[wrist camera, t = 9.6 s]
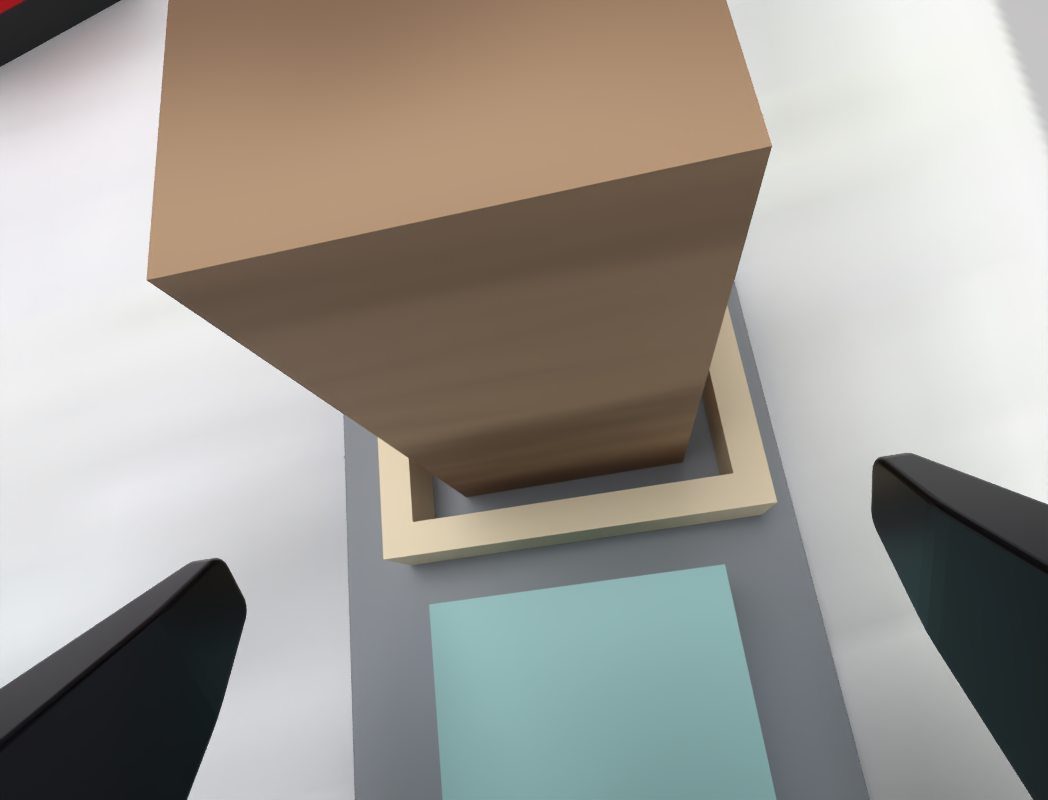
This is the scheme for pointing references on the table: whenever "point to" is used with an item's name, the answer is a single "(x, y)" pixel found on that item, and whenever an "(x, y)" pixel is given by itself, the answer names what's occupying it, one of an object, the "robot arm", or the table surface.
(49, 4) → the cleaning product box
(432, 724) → the board
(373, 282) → the pillar
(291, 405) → the table surface
